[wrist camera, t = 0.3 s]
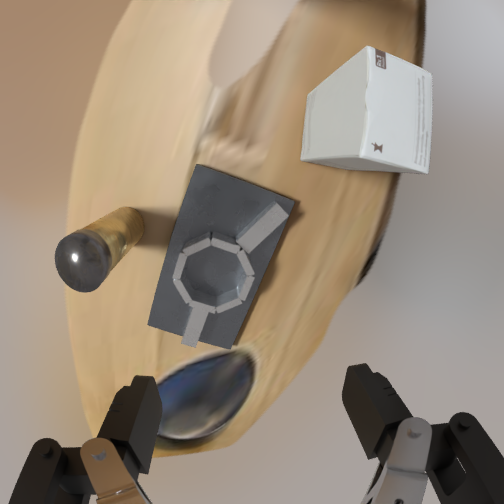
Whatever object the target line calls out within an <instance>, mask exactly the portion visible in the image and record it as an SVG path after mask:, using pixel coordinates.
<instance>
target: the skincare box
mask: <svg viewBox="0 0 504 504" xmlns="http://www.w3.org/2000/svg"><path fill="white" fill-rule="evenodd" d="M432 99H433V97H432V74H431V73H429V72H427V71H426V70H424V69H422V68H420V67H418V66H416V65H414V64H411V63H409V62H407V61H405V60H403V59H400V58H398V57H396V56H393V55H391V54H388V53H386V52H383V51H380V50H378V49H375V48H373V47H370V46H366V47H365V48H363V49H362V50H361V51H360V52H358V53H357V54H356V55H354V56H353V57H352V58H351V59H349V60H348V61H347V62H346V63H345V64H343V65H342V66H341V67H340V68H338V69H337V70H336V71H335V72H333V73H332V74H331V75H330V76H329V77H328V78H326V79H325V80H324V81H323V82H322V83H321V84H319V85H318V86H317V87H316V88H315V89H314V90H312V91H311V92H310V93H309V94H308V96H307V104H306V113H305V122H304V131H303V141H302V152H301V159H300V160H301V161H304V162H310V163H315V164H320V165H326V166H331V167H336V168H341V169H346V170H367V171H386V172H401V173H416V174H428V173H429V165H430V153H431V138H432V112H433V110H432V109H433V107H432V106H433V104H432V103H433V102H432V101H433V100H432Z"/></svg>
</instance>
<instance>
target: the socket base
mask: <svg viewBox="0 0 504 504" xmlns="http://www.w3.org/2000/svg"><path fill="white" fill-rule="evenodd" d="M294 203H295V201H293V200H291V199H289V198H286V197H284V196H281V195H279V194H276V193H274V192H271V191H269V190H266V189H264V188H261V187H259V186H256V185H253V184H251V183H248V182H245V181H243V180H240V179H237V178H235V177H232V176H229V175H227V174H224V173H221V172H218V171H215V170H213V169H210V168H207V167H204V166H201V165H198V164H196V166H195V169H194V172H193V175H192V177H191V180H190V183H189V186H188V188H187V191H186V194H185V197H184V200H183V203H182V206H181V209H180V212H179V215H178V218H177V221H176V224H175V227H174V230H173V233H172V237H171V240H170V243H169V246H168V250H167V253H166V256H165V260H164V263H163V267H162V270H161V274H160V278H159V281H158V285H157V289H156V292H155V296H154V300H153V304H152V308H151V312H150V316H149V320H148V325H149V326H152V327H155V328H158V329H161V330H164V331H167V332H170V333H174V334H177V335H180V336H182V341H181V344H185V345H188V346H191V347H195V348H196V345H197V342H198V341H200V342H204V343H208V344H211V345H215V346H219V347H222V348H226V349H231V347H232V345H233V343H234V341H235V338H236V336H237V334H238V332H239V330H240V327H241V325H242V323H243V321H244V318H245V316H246V314H247V312H248V309H249V307H250V305H251V303H252V300H253V298H254V296H255V294H256V291H257V289H258V287H259V285H260V282H261V280H262V278H263V275H264V273H265V271H266V269H267V266H268V264H269V262H270V259H271V257H272V255H273V252H274V250H275V248H276V245H277V243H278V241H279V238H280V236H281V234H282V231H283V229H284V227H285V224H286V222H287V220H288V217H289V215H290V212H291V210H292V208H293V205H294Z"/></svg>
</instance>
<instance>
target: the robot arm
mask: <svg viewBox="0 0 504 504" xmlns="http://www.w3.org/2000/svg"><path fill="white" fill-rule="evenodd" d="M342 401H343V404H344V406H345V409H346V411H347V413H348V415H349V418H350V420H351V422H352V424H353V426H354V428H355V431H356V433H357V435H358V438H359V440H360V442H361V444H362V447H363V449H364V451H365V453H366V455H367V458H368V460H369V459H372V458H376V457H378V459H379V461H380V462H379V464H378V466H377V468H376V471H375V473H374V476H373V478H372V481H371V483H370V485H369V488H368V490H367V492H366V494H365V497H364V498H363V501H362V502H361V504H421V503H422V500H423V496H424V493H425V489H426V485H427V480H428V477H429V479H430V481H431V483H432V485H433V488H434V489H435V492H436V494H437V496H438V499H439V501H440V503H441V504H504V458H503V456H502V455H501V453H500V452H499V450H498V449H497V447H496V446H495V444H494V443H493V441H492V440H491V439H490V437H489V436H488V434H487V433H486V432H485V430H484V429H483V428H482V426H481V425H480V423H479V422H478V421H477V419H476V418H475V417H474V416H472V415H471V414H469V413H465V412H460V413H457V414H455V415H454V416H453V417H452V418H451V419H450V421H449V423H443V424H434V425H430V424H429V423H428V422H427V421H426V420H424V419H422V418H418V417H413V416H412V414H411V413H410V411H409V410H408V408H407V407H406V405H405V404H404V403H403V401H402V400H401V398H400V397H399V395H398V394H397V393H396V391H395V390H394V388H392V385H391V384H390V382H389V381H388V379H387V378H385V377H384V376H383V375H381V374H380V373H378V372H376V373H373V372H372V371H371V369H370V368H369V366H368V365H367V364H366V363H363V364H358V365H352V366H349V367H348V368H347V372H346V377H345V382H344V386H343V391H342ZM161 417H162V402H161V399H160V395H159V392H158V389H157V385H156V382H155V379H154V377H153V376H139V375H136V376H135V377H134V378H133V381H132V383H131V385H130V386H124V387H123V388H122V389H120V390H119V391H118V392H117V393H116V395H115V397H114V399H113V402H112V404H111V406H110V408H109V411H108V413H107V415H106V417H105V420H104V422H103V424H102V426H101V429H100V431H99V433H98V436H97V438H93V439H90V440H88V441H86V442H85V443H84V444H83V445H82V447H76V448H62V447H61V446H60V445H59V444H58V442H57V441H55V440H54V439H51V438H43V439H40V440H38V441H37V442H36V443H35V444H34V445H33V447H32V449H31V451H30V453H29V455H28V457H27V460H26V462H25V464H24V467H23V469H22V471H21V473H20V476H19V478H18V480H17V483H16V485H15V488H14V490H13V493H12V496H11V498H10V501H9V504H89V500H90V496H91V494H93V495H96V494H97V496H98V499H97V500H96V502H97V504H152V502H151V501H150V499H149V498H148V496H147V495H146V493H145V492H144V490H143V489H142V487H141V485H140V484H139V482H138V481H137V479H138V475H139V473H143V474H148V473H149V468H150V463H151V459H152V454H153V450H154V446H155V441H156V437H157V433H158V429H159V425H160V421H161ZM457 458H458V459H459V461H460V462H461V464H460V462H459V461H458V459H457ZM461 465H462V466H463V468H464V469H463V468H462V466H461ZM464 470H465V471H464ZM425 471H426V473H427V474H426V473H425ZM465 472H466V473H465Z"/></svg>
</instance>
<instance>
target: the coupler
mask: <svg viewBox="0 0 504 504" xmlns="http://www.w3.org/2000/svg"><path fill="white" fill-rule="evenodd" d="M143 233H144V222H143V219H142V217H141V215H140V214H139V213H138V212H137V211H136V210H134V209H132V208H129V207H122V208H119V209H117V210H115V211H113V212H111V213H109V214H108V215H106V216H104V217H102V218H100V219H98V220H97V221H95V222H93V223H91V224H89V225H88V226H86V227H84V228H82V229H80V230H77V231H75V232H73V233H71V234H70V235H68V236H66V237H65V238H63V239H62V240H61V241H60V242H59V244H58V246H57V248H56V252H55V264H56V268H57V270H58V273H59V275H60V277H61V278H62V280H63V281H64V282H65V283H66V284H67V285H68V286H69V287H71V288H72V289H74V290H76V291H79V292H91V291H94V290H95V289H97V288H98V287H99V286H100V285H101V283H102V282H103V281H104V280H105V279H106V278H107V276H108V275H109V273H110V271H111V270H112V269H113V268H114V267H115V266H116V265H117V263H118V262H119V261H120V260H121V259H122V258H123V257H124V256H125V255H126V254H127V253H128V252H129V250H130V249H131V248H132V247H133V246H134V245H135V244H136V243H137V242H138V241H139V240H140V239H141V237H142V235H143Z"/></svg>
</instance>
